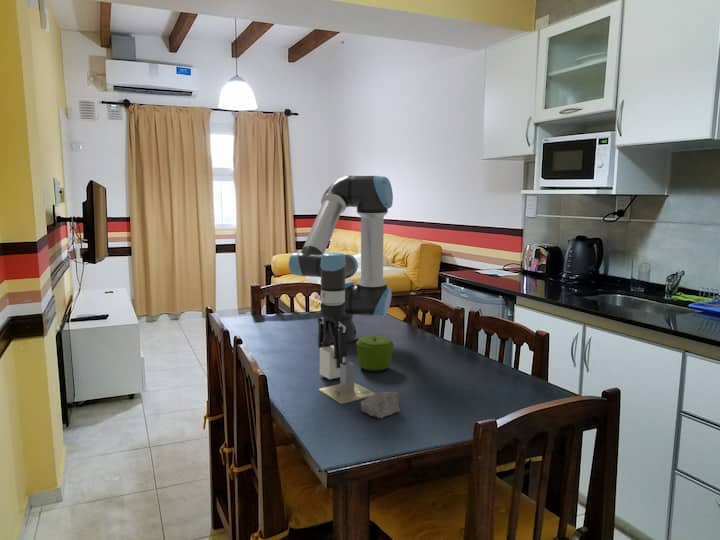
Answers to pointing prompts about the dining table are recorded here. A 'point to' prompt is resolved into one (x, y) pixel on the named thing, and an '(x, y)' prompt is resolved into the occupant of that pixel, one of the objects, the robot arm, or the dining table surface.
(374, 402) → the stone
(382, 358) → the green apple
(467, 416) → the dining table surface
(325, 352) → the cream cuboid
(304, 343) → the dining table surface
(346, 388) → the square base with post
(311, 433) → the dining table surface
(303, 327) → the dining table surface
